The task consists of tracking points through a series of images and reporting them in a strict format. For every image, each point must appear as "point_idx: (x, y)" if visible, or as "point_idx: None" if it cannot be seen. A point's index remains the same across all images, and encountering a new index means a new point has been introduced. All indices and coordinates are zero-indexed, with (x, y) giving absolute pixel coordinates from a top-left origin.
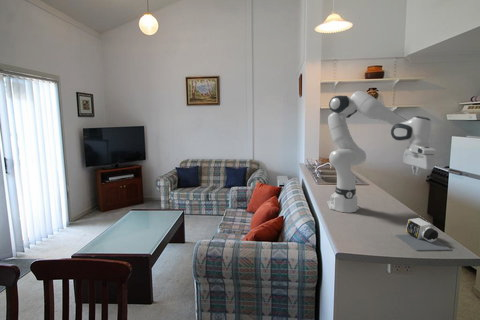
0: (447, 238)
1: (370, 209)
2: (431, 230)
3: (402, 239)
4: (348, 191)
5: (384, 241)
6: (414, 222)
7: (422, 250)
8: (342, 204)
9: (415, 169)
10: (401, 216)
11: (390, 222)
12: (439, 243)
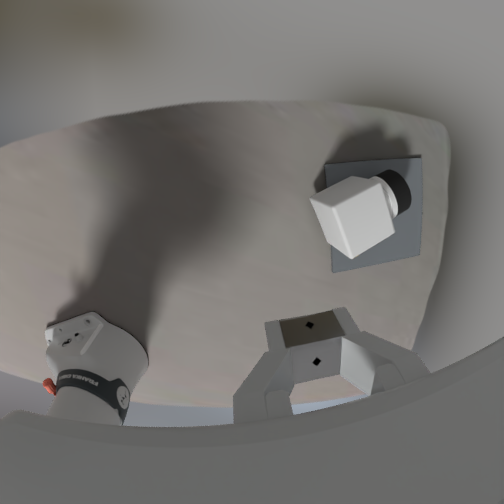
0: (343, 108)
1: (81, 274)
2: (407, 202)
3: (365, 266)
4: (122, 410)
5: (366, 311)
6: (372, 245)
7: (419, 238)
8: (136, 383)
9: (280, 383)
10: (127, 178)
11: (208, 247)
12: (390, 167)
